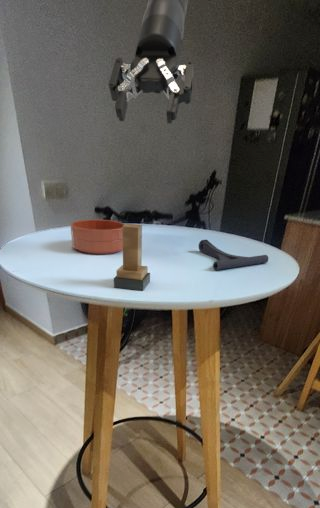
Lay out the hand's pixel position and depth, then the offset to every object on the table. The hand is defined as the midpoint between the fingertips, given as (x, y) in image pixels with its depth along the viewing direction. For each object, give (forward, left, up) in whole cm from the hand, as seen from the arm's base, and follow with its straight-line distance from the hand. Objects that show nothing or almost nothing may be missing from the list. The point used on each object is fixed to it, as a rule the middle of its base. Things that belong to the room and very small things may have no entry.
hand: (144, 117), depth 62 cm
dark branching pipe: (+16, +10, -24) cm, 30 cm away
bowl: (-12, +8, -24) cm, 28 cm away
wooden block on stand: (+2, -14, -24) cm, 28 cm away
